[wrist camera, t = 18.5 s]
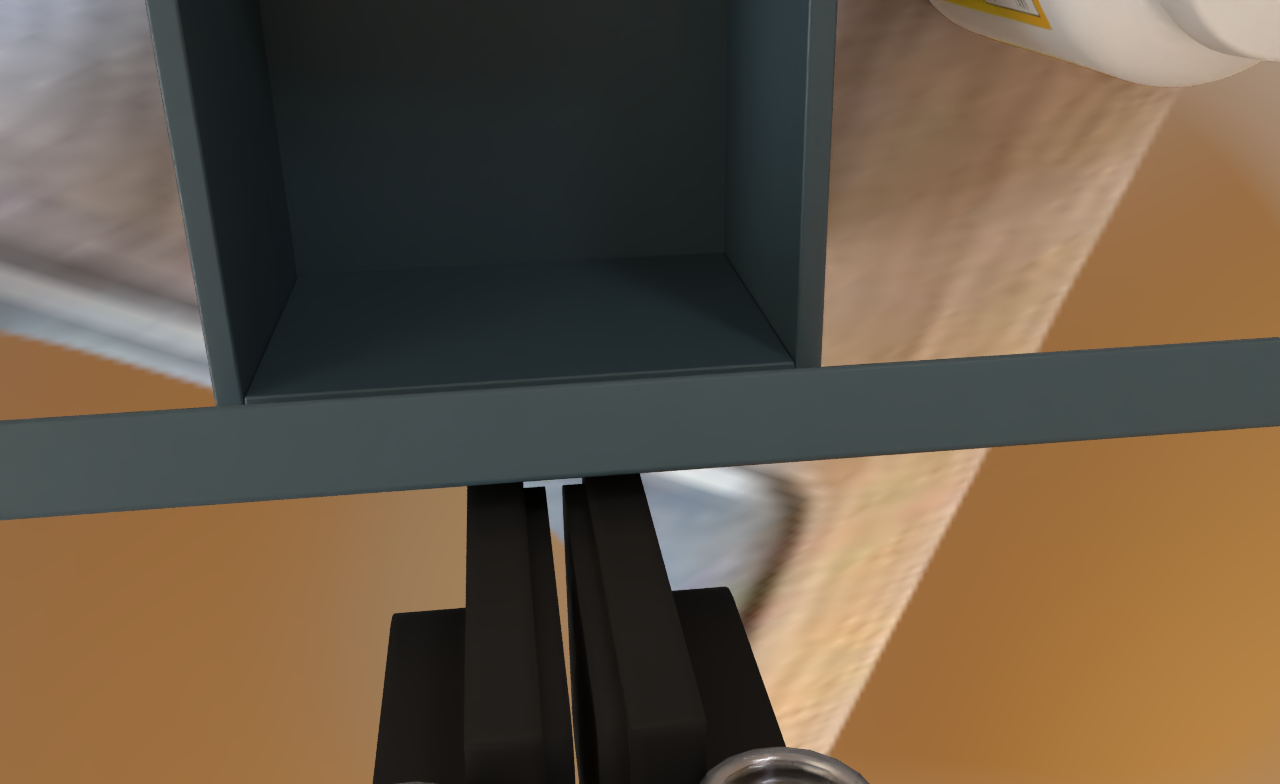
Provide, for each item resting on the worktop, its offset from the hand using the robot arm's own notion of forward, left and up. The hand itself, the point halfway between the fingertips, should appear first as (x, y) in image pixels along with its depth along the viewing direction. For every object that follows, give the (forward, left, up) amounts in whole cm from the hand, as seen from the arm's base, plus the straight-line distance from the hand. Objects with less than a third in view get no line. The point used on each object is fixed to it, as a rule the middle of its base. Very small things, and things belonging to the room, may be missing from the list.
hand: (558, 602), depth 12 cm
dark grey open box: (-3, 0, -23) cm, 23 cm away
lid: (+1, 0, -6) cm, 6 cm away
